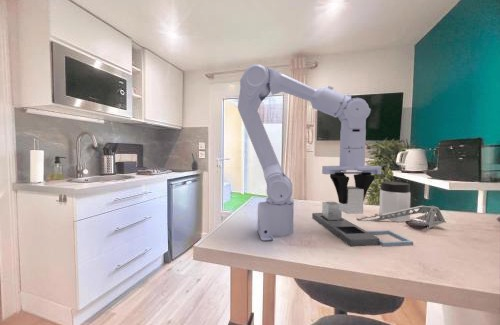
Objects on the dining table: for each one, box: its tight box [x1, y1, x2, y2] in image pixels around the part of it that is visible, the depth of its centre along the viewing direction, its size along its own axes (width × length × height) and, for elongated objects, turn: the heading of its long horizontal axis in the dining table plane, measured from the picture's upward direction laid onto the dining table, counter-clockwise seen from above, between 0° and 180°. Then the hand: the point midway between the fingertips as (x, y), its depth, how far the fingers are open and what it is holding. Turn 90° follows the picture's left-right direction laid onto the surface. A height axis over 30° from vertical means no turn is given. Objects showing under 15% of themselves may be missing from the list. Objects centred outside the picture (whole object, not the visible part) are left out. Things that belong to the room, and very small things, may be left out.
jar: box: [378, 181, 412, 223], centre depth 74 cm, size 9×8×12 cm
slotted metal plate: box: [311, 212, 381, 248], centre depth 61 cm, size 7×22×2 cm, turn 6°
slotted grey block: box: [321, 201, 343, 221], centre depth 66 cm, size 4×4×6 cm
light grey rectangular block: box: [338, 185, 364, 215], centre depth 56 cm, size 4×4×6 cm
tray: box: [366, 229, 414, 247], centre depth 54 cm, size 8×8×2 cm
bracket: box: [356, 205, 447, 229], centre depth 67 cm, size 3×21×10 cm, turn 78°
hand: (350, 202), depth 56 cm, fingers closed on light grey rectangular block, 4 cm apart
